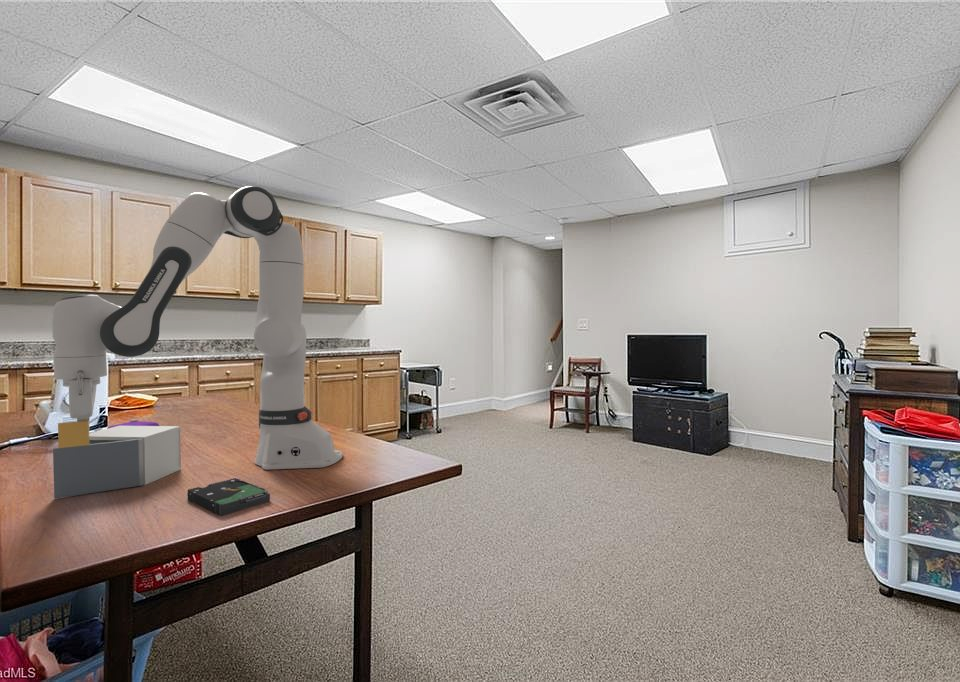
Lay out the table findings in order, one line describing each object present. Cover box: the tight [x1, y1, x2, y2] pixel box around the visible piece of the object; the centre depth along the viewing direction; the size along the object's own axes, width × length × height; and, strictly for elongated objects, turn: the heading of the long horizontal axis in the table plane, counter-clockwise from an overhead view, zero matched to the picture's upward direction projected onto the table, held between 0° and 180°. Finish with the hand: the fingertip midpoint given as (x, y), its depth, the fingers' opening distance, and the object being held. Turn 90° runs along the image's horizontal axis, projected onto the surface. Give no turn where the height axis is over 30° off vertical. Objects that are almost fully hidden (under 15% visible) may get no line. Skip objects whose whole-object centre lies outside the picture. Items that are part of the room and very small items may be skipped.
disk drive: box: [186, 477, 271, 517], centre depth 101 cm, size 10×3×15 cm
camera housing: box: [89, 425, 182, 486], centre depth 118 cm, size 16×13×11 cm
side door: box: [52, 419, 145, 500], centre depth 106 cm, size 15×1×16 cm, turn 124°
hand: (84, 432), depth 106 cm, fingers closed
